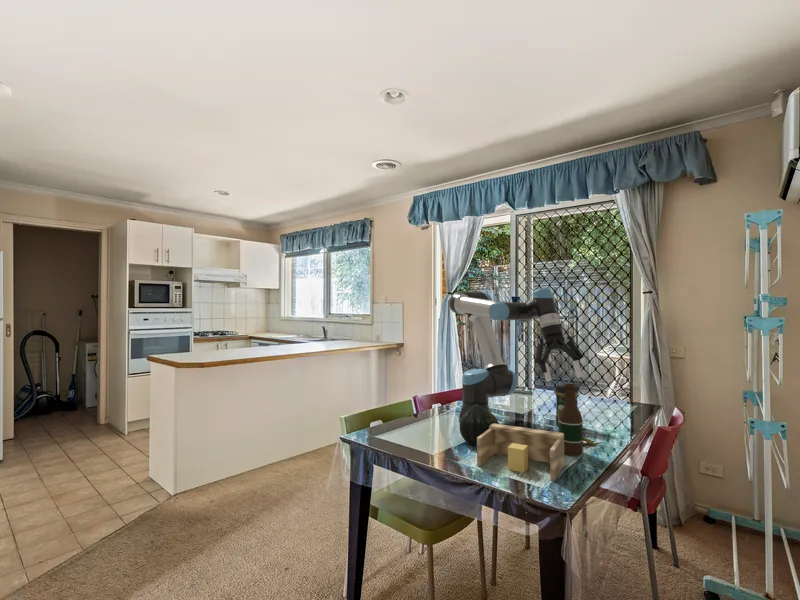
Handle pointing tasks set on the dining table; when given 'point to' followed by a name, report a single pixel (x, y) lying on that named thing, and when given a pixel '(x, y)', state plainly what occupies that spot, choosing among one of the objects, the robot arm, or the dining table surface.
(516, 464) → the block
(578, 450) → the beer bottle
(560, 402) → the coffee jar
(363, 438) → the dining table surface
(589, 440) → the lily flower
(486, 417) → the squash
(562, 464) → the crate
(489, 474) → the dining table surface
